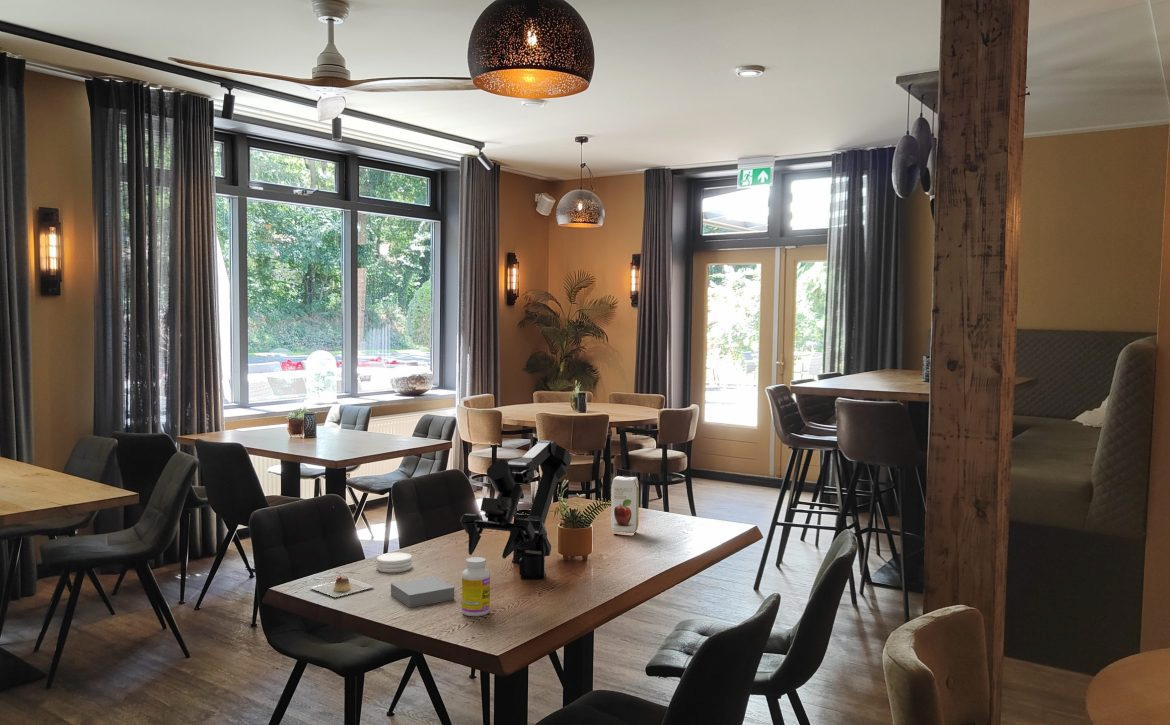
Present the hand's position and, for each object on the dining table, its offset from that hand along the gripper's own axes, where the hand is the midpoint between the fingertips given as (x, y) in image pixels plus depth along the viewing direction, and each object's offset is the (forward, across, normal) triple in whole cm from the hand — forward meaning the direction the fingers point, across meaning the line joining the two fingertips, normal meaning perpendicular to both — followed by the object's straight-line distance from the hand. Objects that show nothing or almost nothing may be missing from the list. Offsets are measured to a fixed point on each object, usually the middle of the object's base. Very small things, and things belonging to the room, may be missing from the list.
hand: (486, 555), depth 207 cm
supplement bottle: (+13, 0, +5) cm, 14 cm away
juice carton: (-52, +8, +69) cm, 87 cm away
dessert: (+10, -41, +8) cm, 43 cm away
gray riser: (+8, -18, +9) cm, 22 cm away
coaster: (-6, -40, +24) cm, 47 cm away
